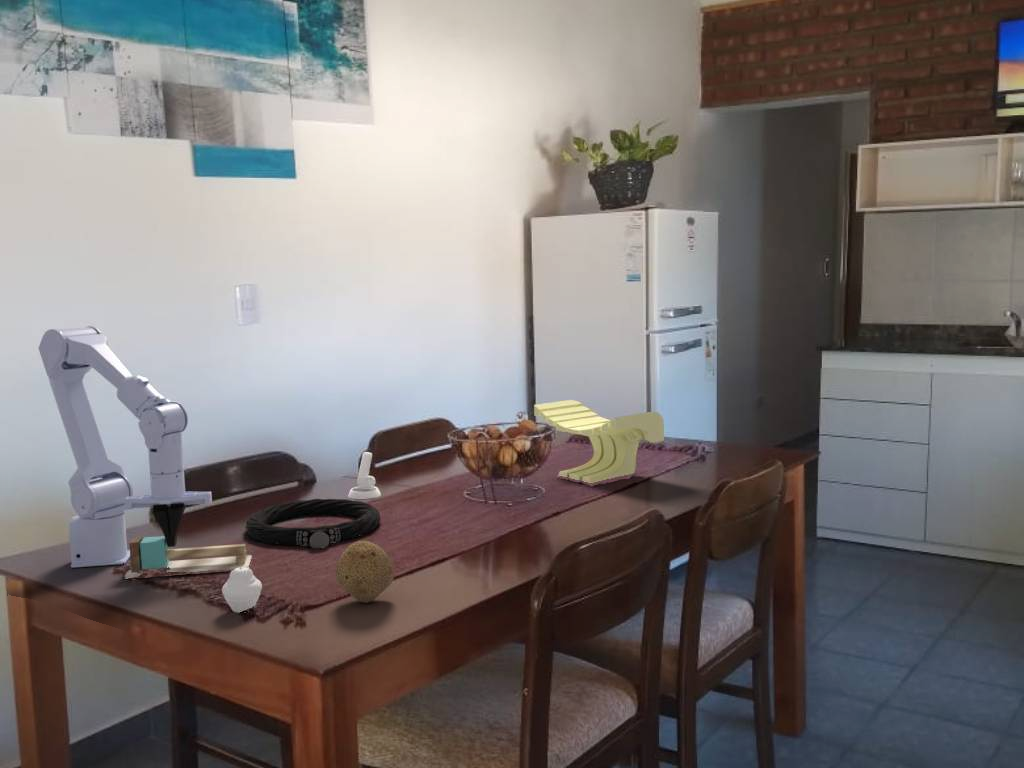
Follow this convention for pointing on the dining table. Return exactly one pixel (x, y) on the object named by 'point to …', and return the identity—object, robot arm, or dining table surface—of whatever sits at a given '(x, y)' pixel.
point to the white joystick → (365, 481)
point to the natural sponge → (364, 571)
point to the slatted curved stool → (603, 437)
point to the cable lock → (312, 535)
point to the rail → (194, 564)
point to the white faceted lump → (241, 589)
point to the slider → (154, 552)
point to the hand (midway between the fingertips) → (172, 545)
